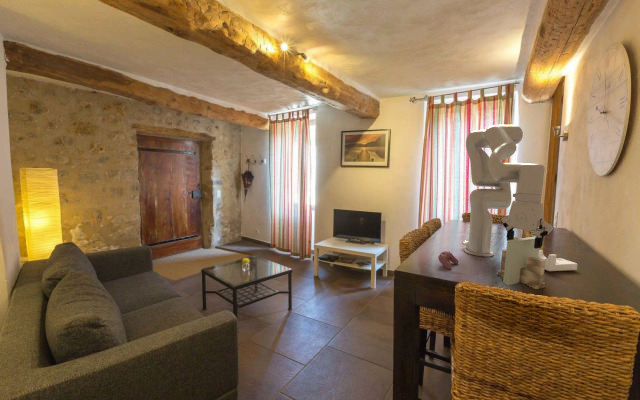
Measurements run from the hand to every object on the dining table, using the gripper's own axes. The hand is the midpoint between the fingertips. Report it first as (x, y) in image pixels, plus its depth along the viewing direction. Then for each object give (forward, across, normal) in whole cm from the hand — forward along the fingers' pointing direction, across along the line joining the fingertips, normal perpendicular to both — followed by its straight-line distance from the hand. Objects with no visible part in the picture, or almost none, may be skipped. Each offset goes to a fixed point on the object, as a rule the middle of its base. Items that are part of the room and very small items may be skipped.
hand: (523, 244), depth 106 cm
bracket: (+15, -2, +27) cm, 31 cm away
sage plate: (+14, 0, 0) cm, 14 cm away
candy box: (+14, -19, +39) cm, 45 cm away
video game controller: (+14, -22, -12) cm, 29 cm away
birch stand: (+14, 0, 0) cm, 14 cm away
